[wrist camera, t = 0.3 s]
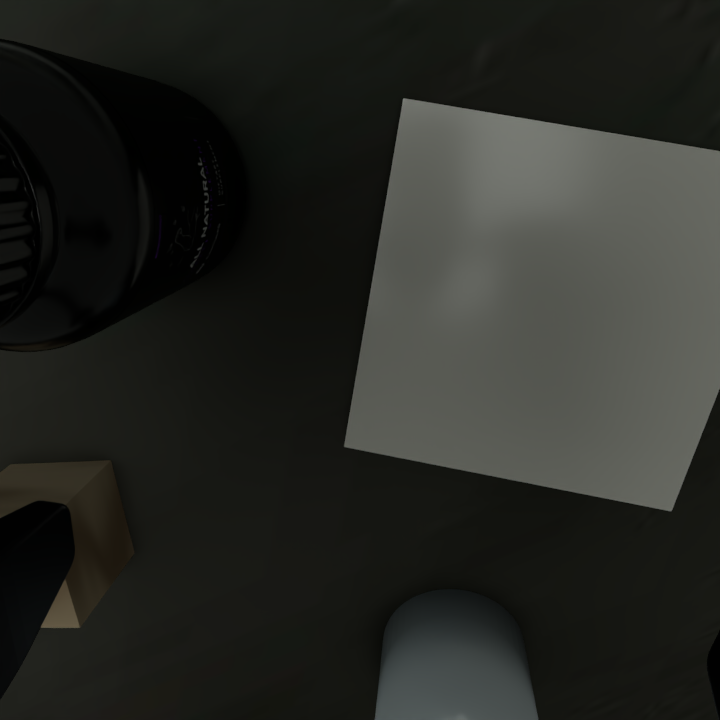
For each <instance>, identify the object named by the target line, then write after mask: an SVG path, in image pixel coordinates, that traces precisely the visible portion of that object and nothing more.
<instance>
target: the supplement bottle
mask: <svg viewBox="0 0 720 720" xmlns="http://www.w3.org/2000/svg"><path fill="white" fill-rule="evenodd" d="M246 199H247V198H246V181H245V175H244V170H243V166H242V163H241V159H240V156H239V154H238V151H237V149H236V147H235V145H234V143H233V141H232V139H231V137H230V136H229V134H228V132H227V131H226V129H225V128H224V127H223V125H222V124H221V123H220V121H219V120H218V119H217V118H216V117H215V116H214V115H213V113H212V112H211V111H209V110H208V109H207V108H206V107H205V106H204V105H203V104H201V103H200V102H199V101H197V100H196V99H195V98H193V97H191V96H190V95H188V94H187V93H185V92H183V91H181V90H179V89H177V88H174V87H172V86H169V85H166V84H164V83H160V82H157V81H155V80H151V79H148V78H144V77H141V76H137V75H134V74H130V73H126V72H123V71H119V70H116V69H112V68H109V67H105V66H101V65H98V64H94V63H91V62H87V61H84V60H80V59H77V58H73V57H69V56H66V55H62V54H59V53H55V52H52V51H48V50H44V49H41V48H37V47H34V46H30V45H26V44H22V43H18V42H14V41H9V40H5V39H0V350H5V351H16V352H37V351H45V350H52V349H56V348H61V347H64V346H67V345H70V344H73V343H75V342H78V341H81V340H83V339H85V338H88V337H90V336H92V335H94V334H96V333H98V332H100V331H102V330H104V329H106V328H107V327H109V326H111V325H113V324H115V323H117V322H119V321H121V320H123V319H125V318H127V317H128V316H130V315H132V314H134V313H136V312H138V311H140V310H142V309H144V308H146V307H147V306H149V305H151V304H153V303H155V302H157V301H159V300H161V299H163V298H165V297H167V296H168V295H170V294H172V293H174V292H176V291H178V290H180V289H182V288H184V287H186V286H187V285H189V284H191V283H193V282H195V281H196V280H198V279H200V278H201V277H203V276H205V275H206V274H208V273H209V272H210V271H211V270H213V269H214V268H215V267H216V266H217V265H218V264H219V263H220V262H221V261H222V260H223V259H224V258H225V257H226V256H227V254H228V253H229V252H230V250H231V249H232V247H233V246H234V244H235V242H236V240H237V238H238V236H239V233H240V230H241V228H242V224H243V221H244V216H245V210H246Z"/></svg>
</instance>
